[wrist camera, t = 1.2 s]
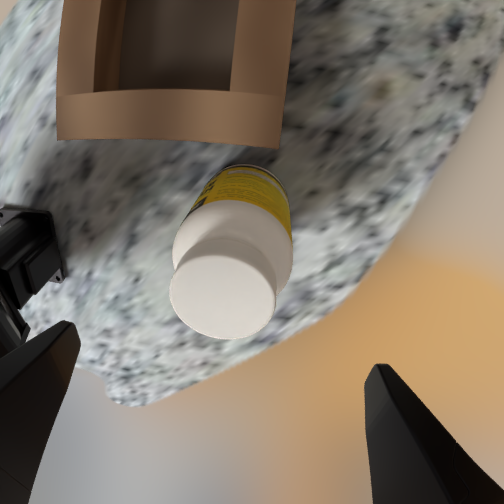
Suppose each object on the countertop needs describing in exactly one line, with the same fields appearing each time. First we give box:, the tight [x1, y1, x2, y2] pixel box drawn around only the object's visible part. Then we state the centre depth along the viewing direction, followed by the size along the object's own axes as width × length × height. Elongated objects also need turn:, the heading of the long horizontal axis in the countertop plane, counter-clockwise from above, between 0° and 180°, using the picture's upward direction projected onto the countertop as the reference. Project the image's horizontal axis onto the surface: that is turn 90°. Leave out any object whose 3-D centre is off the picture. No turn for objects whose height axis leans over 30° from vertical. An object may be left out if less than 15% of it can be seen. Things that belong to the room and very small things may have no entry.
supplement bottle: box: [169, 164, 293, 339], centre depth 16 cm, size 5×5×10 cm
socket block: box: [56, 0, 296, 149], centre depth 13 cm, size 12×12×4 cm
